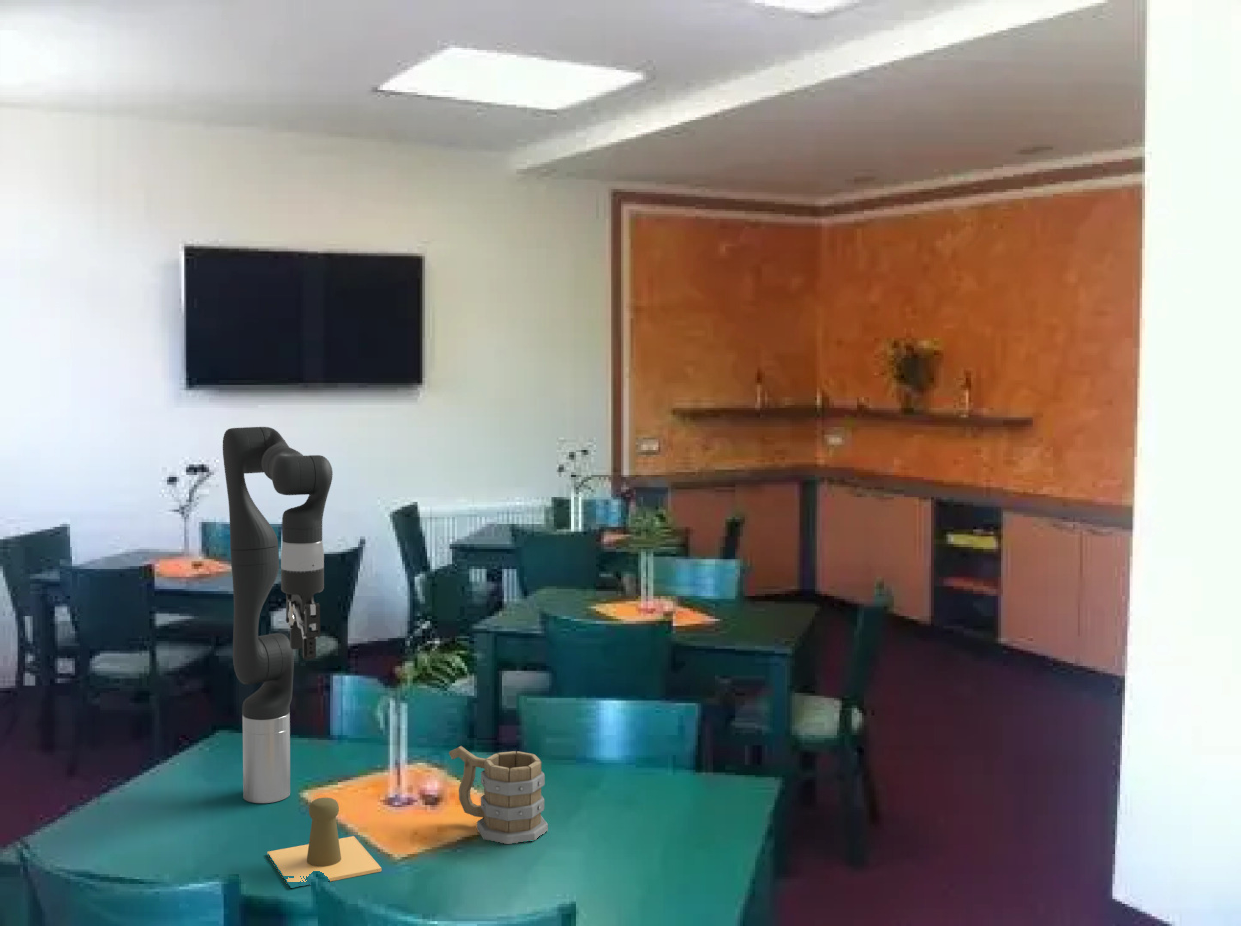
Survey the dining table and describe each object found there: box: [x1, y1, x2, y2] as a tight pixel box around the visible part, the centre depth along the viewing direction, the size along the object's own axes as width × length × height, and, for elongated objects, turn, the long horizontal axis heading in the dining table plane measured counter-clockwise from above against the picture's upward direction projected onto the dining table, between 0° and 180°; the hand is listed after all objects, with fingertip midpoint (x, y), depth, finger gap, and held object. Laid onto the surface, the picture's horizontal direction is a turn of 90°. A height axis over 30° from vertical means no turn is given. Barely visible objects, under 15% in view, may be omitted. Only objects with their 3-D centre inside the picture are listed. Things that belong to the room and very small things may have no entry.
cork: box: [307, 797, 341, 867], centre depth 222 cm, size 6×6×11 cm
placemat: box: [267, 835, 382, 882], centre depth 223 cm, size 16×16×1 cm
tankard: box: [448, 745, 549, 845], centre depth 240 cm, size 20×13×15 cm, turn 65°
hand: (302, 653), depth 227 cm, fingers open, 8 cm apart
